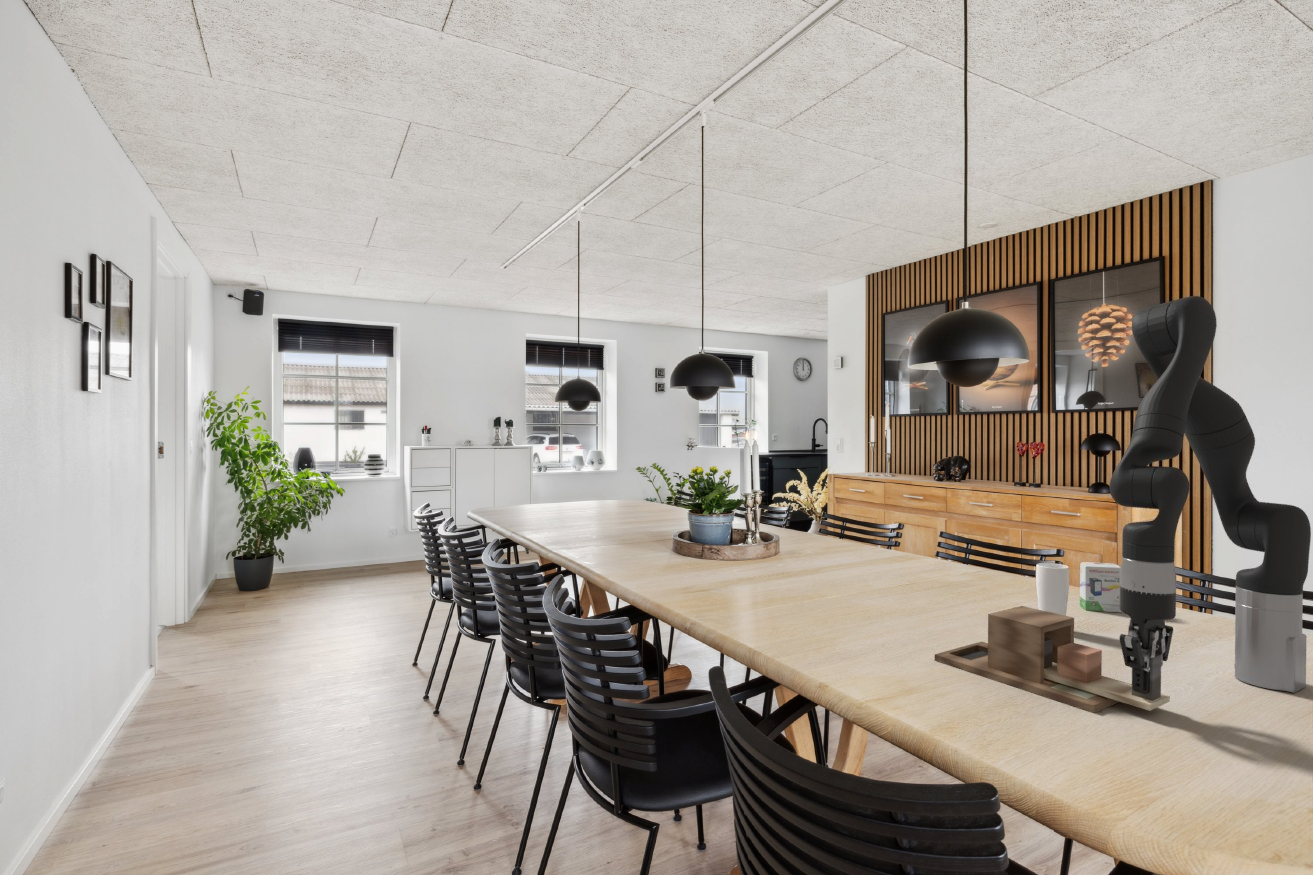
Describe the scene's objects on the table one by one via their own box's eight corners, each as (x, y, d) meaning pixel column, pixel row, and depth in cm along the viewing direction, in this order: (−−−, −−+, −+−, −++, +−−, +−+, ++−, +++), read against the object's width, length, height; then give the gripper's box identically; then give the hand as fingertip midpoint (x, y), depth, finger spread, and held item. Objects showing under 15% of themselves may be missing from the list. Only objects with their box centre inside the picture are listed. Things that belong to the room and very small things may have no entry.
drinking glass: (1060, 625, 162) (1060, 562, 162) (1074, 634, 155) (1075, 568, 155) (1030, 624, 163) (1030, 562, 162) (1043, 633, 156) (1044, 568, 156)
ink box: (1116, 608, 178) (1116, 563, 178) (1123, 613, 173) (1123, 567, 173) (1078, 605, 181) (1079, 561, 180) (1084, 610, 176) (1085, 565, 175)
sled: (1169, 701, 113) (1170, 653, 113) (1150, 710, 109) (1150, 661, 109) (1042, 664, 131) (1042, 622, 131) (1021, 671, 127) (1021, 628, 127)
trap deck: (1139, 693, 121) (1140, 629, 120) (1093, 712, 112) (1094, 644, 112) (981, 646, 146) (982, 594, 146) (934, 660, 138) (934, 604, 137)
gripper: (1153, 596, 106) (1152, 707, 106) (1193, 585, 113) (1191, 689, 113) (1101, 587, 112) (1100, 691, 112) (1141, 577, 119) (1140, 675, 120)
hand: (1146, 689), depth 113 cm, fingers closed on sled, 3 cm apart
